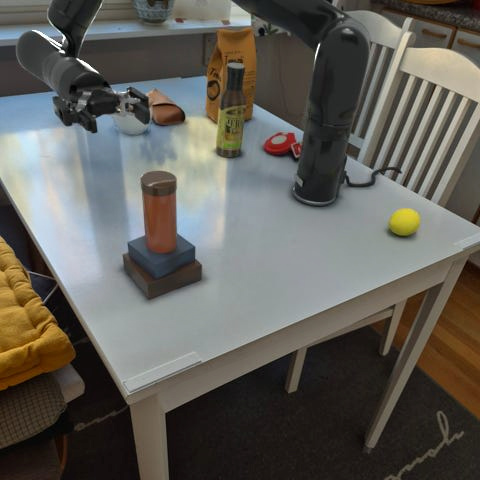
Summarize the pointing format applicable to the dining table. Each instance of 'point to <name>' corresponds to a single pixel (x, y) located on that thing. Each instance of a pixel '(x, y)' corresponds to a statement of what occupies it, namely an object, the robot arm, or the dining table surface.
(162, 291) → the block stack
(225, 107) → the sauce bottle
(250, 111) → the coffee package
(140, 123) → the trinket box
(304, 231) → the dining table surface
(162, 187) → the terracotta canister
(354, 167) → the dining table surface
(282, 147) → the tracker holder
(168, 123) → the sunglasses case
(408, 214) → the lemon
